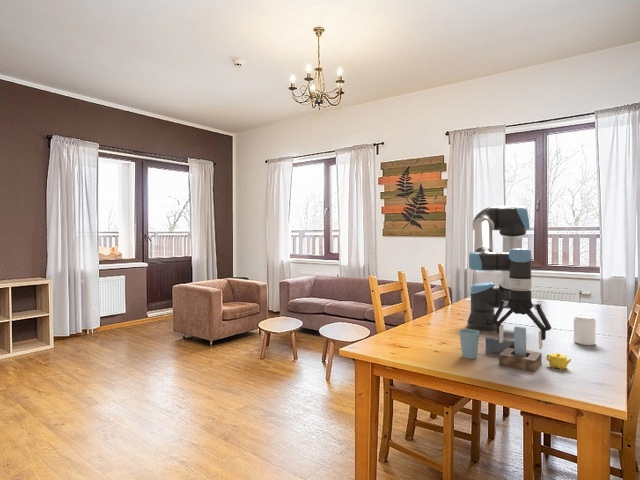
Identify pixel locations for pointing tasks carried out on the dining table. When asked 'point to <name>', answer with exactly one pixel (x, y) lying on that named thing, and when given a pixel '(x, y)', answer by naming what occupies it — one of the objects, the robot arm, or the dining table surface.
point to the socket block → (520, 360)
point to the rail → (497, 345)
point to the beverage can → (584, 330)
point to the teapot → (558, 361)
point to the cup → (469, 343)
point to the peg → (520, 340)
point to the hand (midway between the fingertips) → (520, 345)
